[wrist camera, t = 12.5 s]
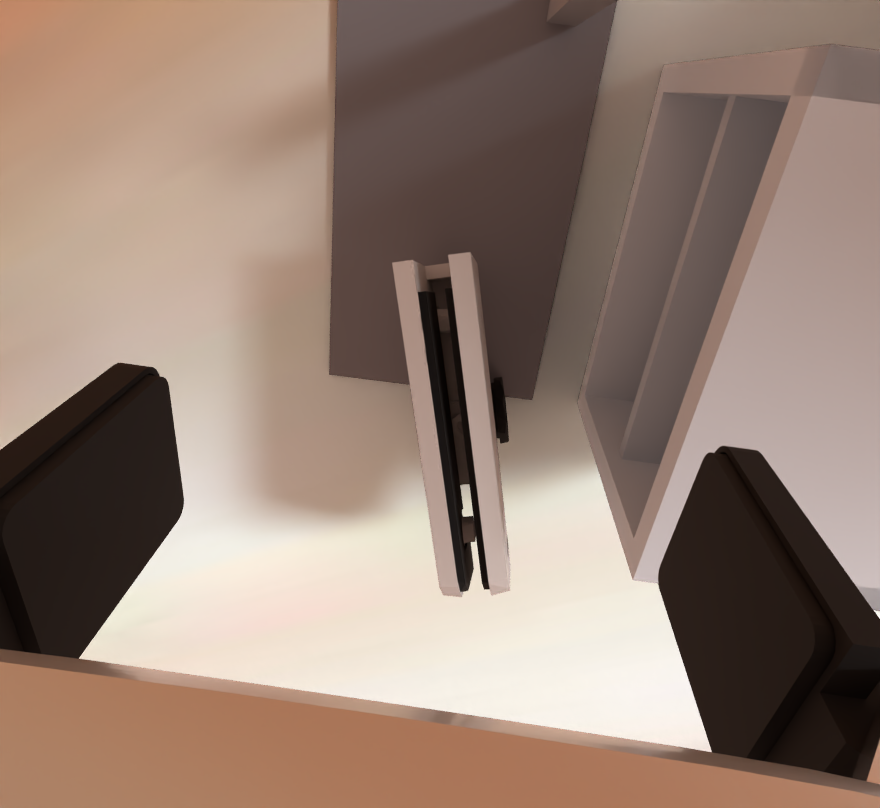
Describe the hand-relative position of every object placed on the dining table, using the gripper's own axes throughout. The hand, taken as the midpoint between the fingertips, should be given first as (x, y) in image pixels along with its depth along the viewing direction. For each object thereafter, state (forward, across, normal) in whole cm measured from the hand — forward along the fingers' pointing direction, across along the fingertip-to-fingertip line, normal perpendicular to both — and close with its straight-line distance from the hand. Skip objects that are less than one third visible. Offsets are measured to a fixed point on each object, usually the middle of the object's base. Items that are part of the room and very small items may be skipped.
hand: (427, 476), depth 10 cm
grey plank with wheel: (+17, +1, +1) cm, 17 cm away
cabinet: (+20, -12, 0) cm, 24 cm away
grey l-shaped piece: (+20, +1, 0) cm, 20 cm away
